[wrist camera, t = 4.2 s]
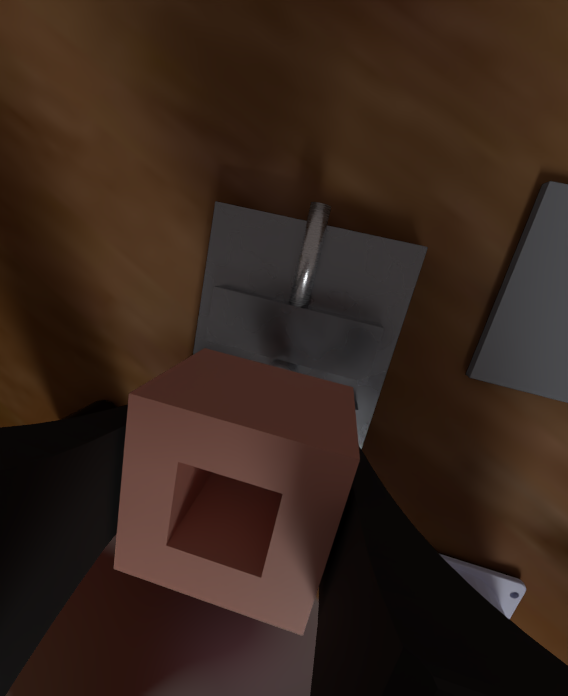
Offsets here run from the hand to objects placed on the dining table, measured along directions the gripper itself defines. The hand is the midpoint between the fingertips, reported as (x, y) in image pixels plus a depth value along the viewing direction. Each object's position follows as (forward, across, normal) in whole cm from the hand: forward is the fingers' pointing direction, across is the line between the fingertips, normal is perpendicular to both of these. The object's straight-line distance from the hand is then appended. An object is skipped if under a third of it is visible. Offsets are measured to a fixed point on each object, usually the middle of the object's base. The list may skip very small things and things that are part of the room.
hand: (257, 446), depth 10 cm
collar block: (+1, 0, 0) cm, 1 cm away
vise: (+10, 0, 0) cm, 10 cm away
